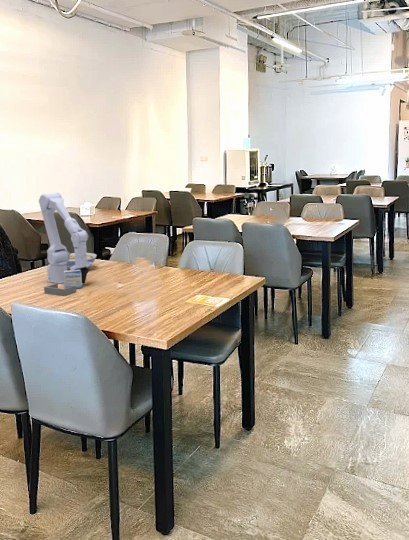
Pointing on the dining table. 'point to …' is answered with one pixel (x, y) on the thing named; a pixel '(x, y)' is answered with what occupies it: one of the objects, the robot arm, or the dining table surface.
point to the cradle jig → (59, 290)
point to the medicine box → (72, 278)
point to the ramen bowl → (71, 261)
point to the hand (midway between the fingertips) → (82, 283)
